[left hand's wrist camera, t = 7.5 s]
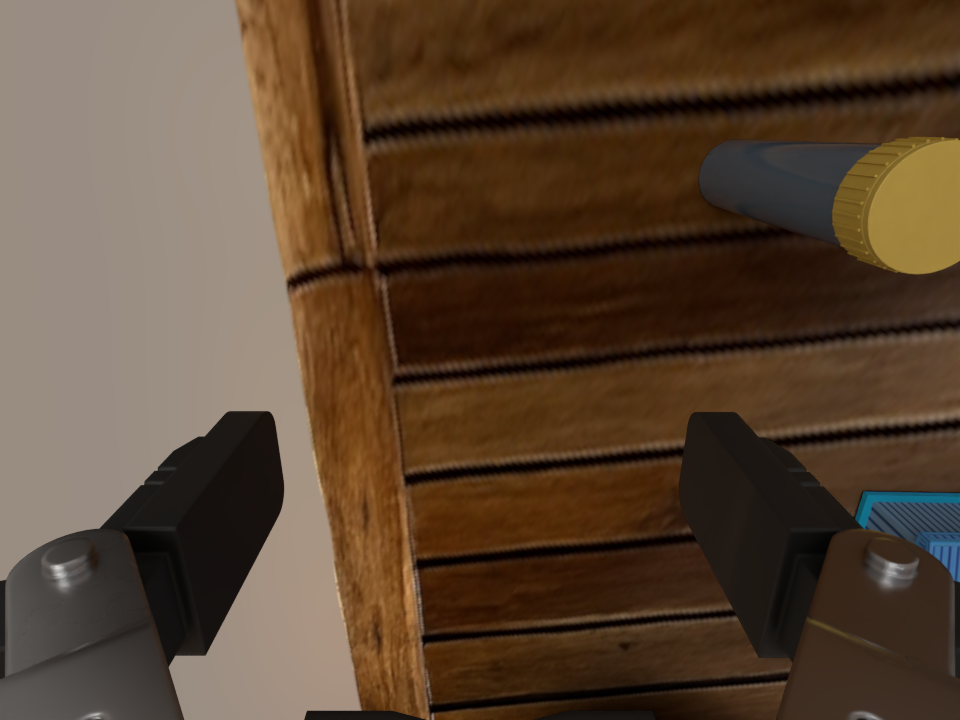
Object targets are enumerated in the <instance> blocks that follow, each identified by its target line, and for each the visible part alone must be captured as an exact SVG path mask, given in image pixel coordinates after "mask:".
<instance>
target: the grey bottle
mask: <svg viewBox="0 0 960 720" xmlns="http://www.w3.org/2000/svg"><path fill="white" fill-rule="evenodd" d="M880 146H881V144H877V143H845V142H813V141H781V140H749V139H733V140H729V141H726V142H723V143H721V144H719V145H718V146H716V147H715V148H714V149H713V150H712V151H711V152H710V153H709V154H708V155H707V157H706V158H705V160H704V161H703V163H702V166H701V169H700V173H699V186H700V190H701V193H702V195H703V196H704V198H705V199H706V200H707V201H708V202H709V203H710V204H711V205H713V206H715V207H718V208H721V209H724V210H727V211H730V212H733V213H736V214H739V215H742V216H745V217H749V218H752V219H755V220H758V221H761V222H764V223H767V224H770V225H773V226H776V227H780V228H783V229H786V230H789V231H792V232H795V233H798V234H801V235H804V236H808V237H811V238H814V239H817V240H820V241H823V242H826V243H829V244H832V245H836V246H839V247H841V246H840V244H841V243H840V242H839V240H838V238H837V237H835V231H834V227H833V225H832V223H833V220H832V210H833V204H834V198H835V196H836V193H837V191H838V188H839V185H840V184H841V183H842V181H843V179H844V178H845V176H846V175H847V172H848V171H850V169H851V168H852V167H853V166H854V165H855V164H856V163H857V161H858V160H860V159H861V158H862V157H864V156H865V155H866V154H868V152H869V151H870V150H874V149H876V148H878V147H880ZM842 248H844V247H842Z"/></svg>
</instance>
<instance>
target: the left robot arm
mask: <svg viewBox="0 0 960 720" xmlns="http://www.w3.org/2000/svg"><path fill="white" fill-rule="evenodd" d="M283 498H284V480H283V473H282V466H281V459H280V453H279V446H278V439H277V432H276V425H275V421H274V418H273V415H272V414H271V413H270V412H268V411H229V412H227V413H226V414H225V415H224V416H223V417H222V418H221V419H220V420H219V421H218V423H217V424H216V425H215V426H214V427H213V428H212V429H211V430H210V431H209V433H208V434H207V435H206V436H205V437H197V438H195V439H194V440H192V441H190V442H188V443H187V444H185V445H183V446H182V447H180V448H178V449H176V450H175V451H173V452H172V453H171V454H170V455H169V457H168V458H167V459H166V460H165V461H164V462H163V463H162V464H161V465H160V466H159V467H158V471H154V472H153V473H152V474H151V475H150V476H149V477H148V478H147V479H146V480H145V483H144V485H141V486H140V487H139V488H138V489H137V490H136V491H135V492H134V493H133V494H132V495H131V496H130V497H129V498H128V499H127V500H126V501H125V502H124V503H123V505H122V506H121V507H120V508H119V509H118V510H117V511H116V512H115V513H114V514H113V515H112V516H111V517H110V518H109V519H108V520H107V521H106V522H105V523H104V524H103V525H102V527H101V528H100V529H91V530H85V531H80V532H76V533H72V534H69V535H66V536H63V537H60V538H58V539H55V540H53V541H51V542H49V543H46V544H44V545H43V546H41V547H39V548H37V549H36V550H34V551H33V552H31V553H29V554H28V555H27V556H25V557H24V558H23V559H22V560H21V561H19V562H18V564H16V565H15V566H14V568H13V569H12V570H11V572H10V573H9V575H8V577H7V579H6V580H3V581H0V720H184V717H183V714H182V711H181V707H180V704H179V701H178V698H177V694H176V691H175V687H174V684H173V681H172V678H171V674H170V671H169V665H170V664H171V662H172V660H173V659H174V657H175V656H189V655H190V656H205V655H206V654H207V652H208V650H209V648H210V646H211V644H212V642H213V640H214V638H215V636H216V635H217V633H218V631H219V629H220V627H221V625H222V623H223V621H224V619H225V617H226V615H227V614H228V612H229V610H230V608H231V606H232V604H233V602H234V600H235V598H236V596H237V594H238V592H239V591H240V589H241V587H242V585H243V583H244V581H245V579H246V577H247V575H248V573H249V571H250V570H251V568H252V566H253V564H254V562H255V560H256V558H257V556H258V554H259V552H260V550H261V549H262V547H263V545H264V543H265V541H266V539H267V537H268V535H269V533H270V531H271V529H272V528H273V526H274V524H275V522H276V520H277V518H278V516H279V514H280V511H281V508H282V504H283ZM679 499H680V505H681V509H682V512H683V515H684V517H685V519H686V521H687V523H688V525H689V526H690V528H691V530H692V532H693V534H694V536H695V538H696V540H697V542H698V543H699V545H700V547H701V549H702V551H703V553H704V555H705V557H706V559H707V560H708V562H709V564H710V566H711V568H712V570H713V572H714V574H715V576H716V577H717V579H718V581H719V583H720V585H721V587H722V589H723V591H724V593H725V594H726V596H727V598H728V600H729V602H730V604H731V606H732V608H733V610H734V611H735V613H736V615H737V617H738V619H739V621H740V623H741V625H742V627H743V628H744V630H745V632H746V634H747V636H748V638H749V640H750V642H751V644H752V645H753V647H754V649H755V651H756V653H757V655H758V657H759V658H790V659H791V661H792V663H793V664H792V667H791V671H790V674H789V677H788V681H787V684H786V687H785V691H784V694H783V697H782V701H781V704H780V707H779V711H778V714H777V717H776V720H960V582H958V581H954V579H953V577H952V575H951V573H950V572H949V570H948V569H947V568H946V566H945V565H944V564H943V563H942V562H941V561H940V560H938V559H937V558H936V557H935V556H933V555H932V554H931V553H929V552H927V551H926V550H924V549H923V548H921V547H919V546H917V545H916V544H914V543H912V542H909V541H907V540H905V539H903V538H900V537H897V536H894V535H891V534H888V533H884V532H880V531H875V530H869V529H864V528H863V527H862V526H861V525H860V524H859V523H858V522H857V521H856V520H855V519H854V518H853V517H852V516H851V515H850V514H849V513H848V512H847V510H846V509H845V508H844V507H843V506H842V505H841V504H840V503H839V502H838V501H837V500H836V499H835V498H834V497H833V496H832V495H831V494H830V493H829V492H828V491H827V490H826V489H825V488H824V487H820V483H819V481H818V480H817V479H816V478H815V477H814V476H813V475H812V474H811V473H810V472H806V468H805V467H804V466H803V465H802V464H801V463H800V462H799V461H798V460H797V459H796V458H795V457H794V456H793V455H792V454H791V452H789V451H787V450H786V449H784V448H782V447H780V446H779V445H777V444H775V443H774V442H772V441H770V440H768V439H767V438H759V437H758V436H757V435H756V434H755V433H754V432H753V430H752V429H751V428H750V427H749V426H748V425H747V424H746V423H745V422H744V421H743V419H742V418H741V417H740V416H739V415H738V414H737V413H735V412H695V413H693V414H692V415H691V417H690V419H689V422H688V427H687V434H686V440H685V447H684V454H683V460H682V467H681V474H680V481H679ZM304 720H425V719H422V718H418V717H414V716H410V715H406V714H402V713H398V712H395V711H307V713H306V716H305V719H304ZM535 720H656V719H655V716H654V713H653V711H565V712H562V713H558V714H554V715H550V716H546V717H542V718H538V719H535Z"/></svg>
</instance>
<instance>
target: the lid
mask: <svg viewBox="0 0 960 720" xmlns="http://www.w3.org/2000/svg"><path fill="white" fill-rule="evenodd" d="M832 220H833V223H832V225H833V227H834V231H835V237H837V238H838V240H839V242H840V243H841V244H840V246H841V247H844V248H845V249H846V250H847V251H848V254H849V255H852V256H855V257H858V258H857V260H860V261H863V262H865V263H868V264H871V265H874V266H877V267H880V268H883V269H887V270H890V271H893V272H896V273H898V271H899V272H902V273H907V274H926V273H931V272H936V271H939V270H942V269H945V268H947V267H949V266H951V265H953V264H955V263H957V262H959V261H960V140H958V139H957V138H945V137H909V138H908V139H895V141H893V142H890V143H883V144H881V146H880V147H878V148H876V149H874V150H870V151H869V152H868V154H866V155H865V156H864V157H862V158H861V159H860V160H858V161H857V163H856V164H855V165H854V166H853V167H852V168H851V169H850V171H848V172H847V175H846V176H845V178H844V179H843V181H842V183H841V184H840V185H839V188H838V191H837V193H836V196H835V198H834V204H833V210H832Z"/></svg>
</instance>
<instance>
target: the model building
mask: <svg viewBox="0 0 960 720" xmlns="http://www.w3.org/2000/svg"><path fill="white" fill-rule="evenodd" d="M855 520H856V521H857V522H858V523H859V524H860V525H861V526H862V527H863V528H864V529H869V530H875V531H880V532H884V533H888V534H891V535H894V536H897V537H900V538H903V539H905V540H907V541H909V542H912V543H914V544H916V545H917V546H919V547H921V548H923V549H924V550H926V551H927V552H929V553H931V554H932V555H933V556H935V557H936V558H937V559H938V560H940V561H941V562H942V563H943V564H944V565H945V566H946V568H947V569H948V570H949V572H950V573H951V575H952V577H953V579H954V581H958V582H960V493H924V492H865V491H864V492H863V495H862V499H861V502H860V505H859V508H858V511H857V515H856V518H855Z"/></svg>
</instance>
